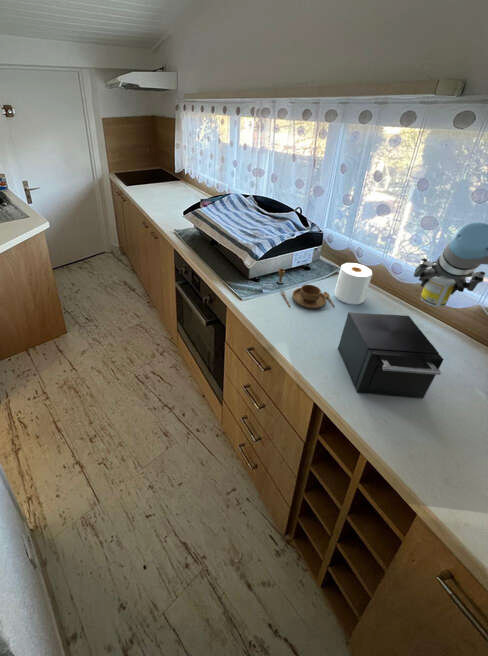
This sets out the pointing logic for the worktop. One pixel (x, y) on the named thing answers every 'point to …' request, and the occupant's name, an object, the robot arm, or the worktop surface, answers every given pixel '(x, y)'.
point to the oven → (379, 338)
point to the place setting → (307, 295)
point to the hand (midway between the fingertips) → (437, 286)
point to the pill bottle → (437, 291)
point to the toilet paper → (353, 283)
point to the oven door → (398, 373)
